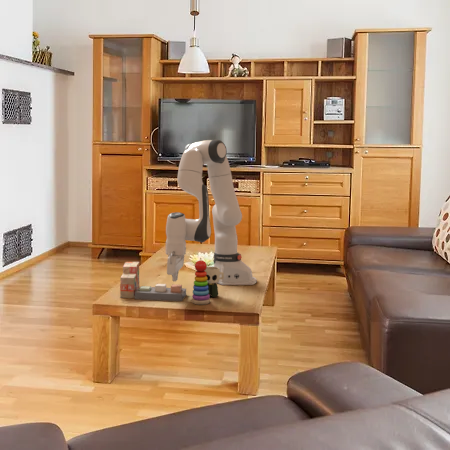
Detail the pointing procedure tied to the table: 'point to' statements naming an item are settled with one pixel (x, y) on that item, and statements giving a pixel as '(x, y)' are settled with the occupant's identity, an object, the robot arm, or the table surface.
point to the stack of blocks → (129, 280)
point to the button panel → (160, 295)
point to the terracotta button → (176, 288)
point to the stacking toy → (200, 285)
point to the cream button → (160, 288)
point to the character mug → (213, 279)
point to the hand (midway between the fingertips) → (175, 280)
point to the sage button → (145, 288)
